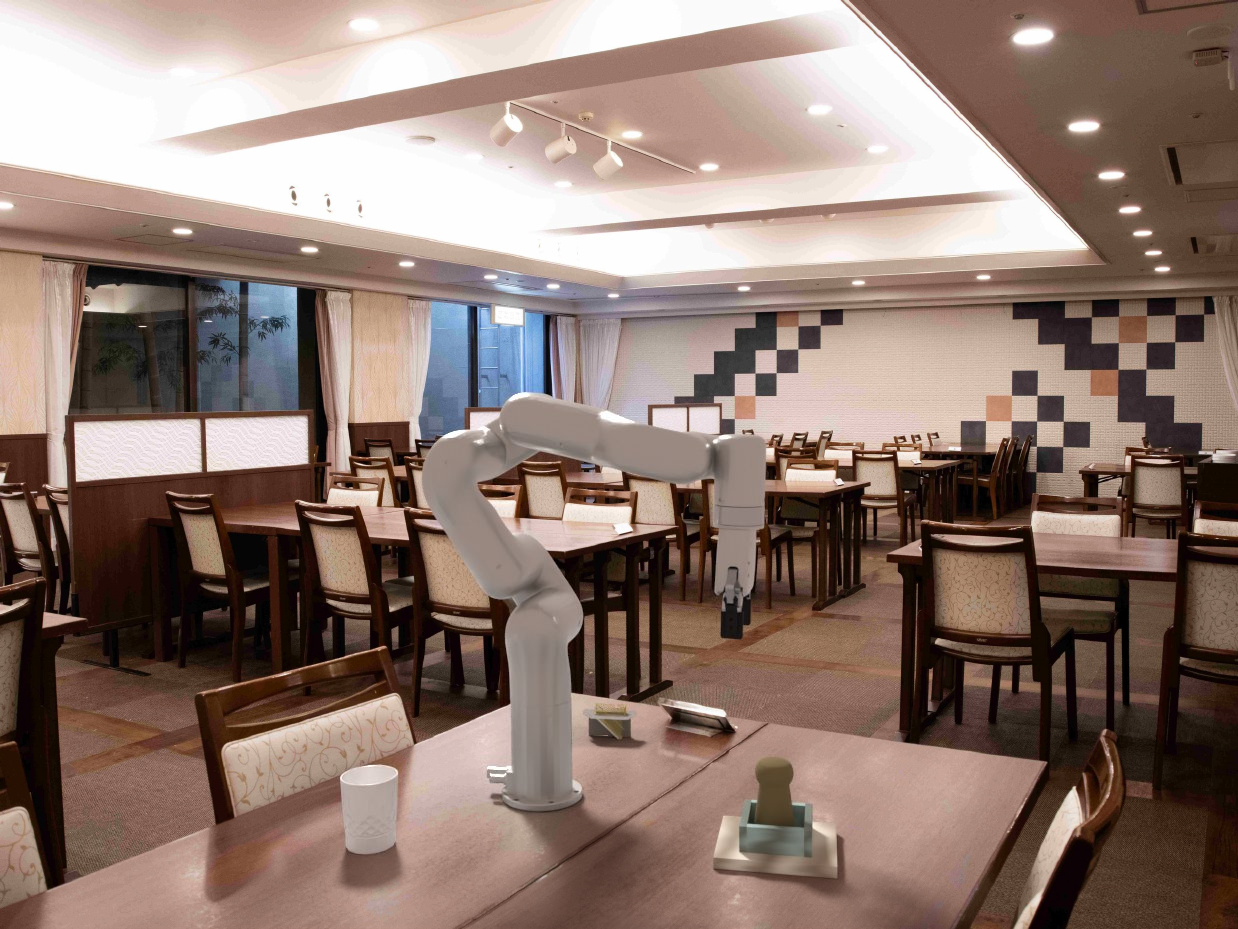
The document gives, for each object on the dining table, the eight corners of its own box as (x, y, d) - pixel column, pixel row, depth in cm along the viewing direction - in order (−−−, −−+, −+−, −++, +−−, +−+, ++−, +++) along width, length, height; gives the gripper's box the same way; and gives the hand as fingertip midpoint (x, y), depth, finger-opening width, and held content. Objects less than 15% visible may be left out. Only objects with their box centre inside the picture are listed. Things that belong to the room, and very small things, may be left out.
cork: (796, 849, 134) (796, 768, 134) (750, 846, 136) (750, 766, 135) (797, 830, 140) (797, 753, 140) (753, 827, 142) (753, 751, 141)
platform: (653, 753, 179) (652, 716, 179) (554, 748, 182) (553, 712, 181) (661, 731, 191) (660, 697, 190) (568, 728, 194) (567, 694, 193)
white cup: (341, 860, 136) (340, 787, 136) (341, 836, 144) (340, 768, 143) (401, 853, 138) (399, 781, 138) (398, 830, 146) (396, 762, 145)
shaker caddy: (713, 868, 132) (712, 831, 132) (723, 825, 146) (723, 791, 146) (837, 878, 129) (837, 840, 129) (836, 833, 143) (836, 799, 143)
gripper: (721, 510, 158) (719, 618, 159) (704, 522, 142) (701, 642, 143) (769, 512, 157) (766, 621, 158) (757, 525, 140) (754, 646, 141)
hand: (735, 631), depth 150 cm, fingers open, 9 cm apart
